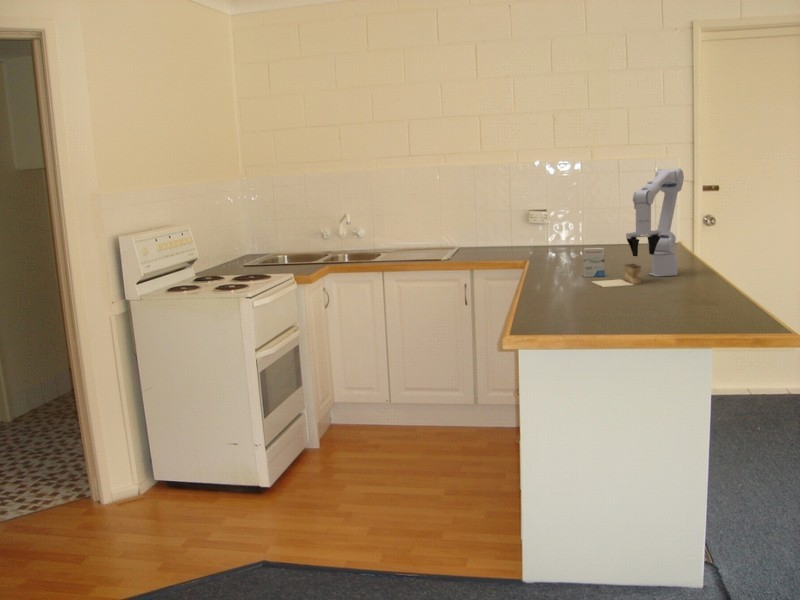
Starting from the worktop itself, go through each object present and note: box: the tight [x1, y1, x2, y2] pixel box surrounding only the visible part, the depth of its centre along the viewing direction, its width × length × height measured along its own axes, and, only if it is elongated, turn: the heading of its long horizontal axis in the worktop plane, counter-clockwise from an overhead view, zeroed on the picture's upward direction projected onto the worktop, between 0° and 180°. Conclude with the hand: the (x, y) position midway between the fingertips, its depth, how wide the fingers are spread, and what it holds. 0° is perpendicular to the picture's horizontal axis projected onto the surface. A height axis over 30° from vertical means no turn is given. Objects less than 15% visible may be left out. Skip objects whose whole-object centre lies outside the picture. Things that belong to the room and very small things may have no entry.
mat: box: [590, 278, 634, 289], centre depth 302 cm, size 12×14×1 cm
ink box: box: [583, 247, 606, 278], centre depth 324 cm, size 8×5×12 cm, turn 74°
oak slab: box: [624, 263, 642, 285], centre depth 302 cm, size 4×8×7 cm, turn 4°
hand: (643, 255), depth 303 cm, fingers open, 7 cm apart
